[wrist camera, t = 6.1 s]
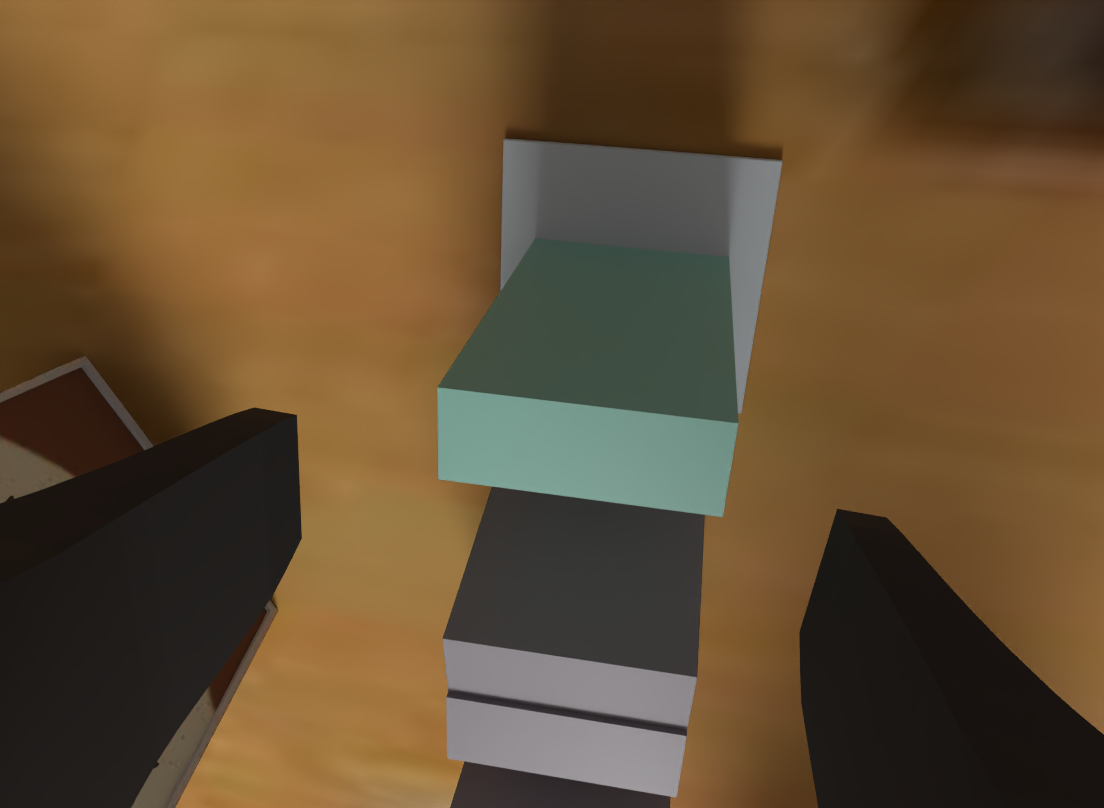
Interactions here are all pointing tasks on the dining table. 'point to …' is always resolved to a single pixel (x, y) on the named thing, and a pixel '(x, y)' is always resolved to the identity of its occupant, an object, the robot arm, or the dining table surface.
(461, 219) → the dining table surface
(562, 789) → the domino
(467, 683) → the domino
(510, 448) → the domino
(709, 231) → the coaster
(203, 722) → the food container
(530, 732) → the domino
